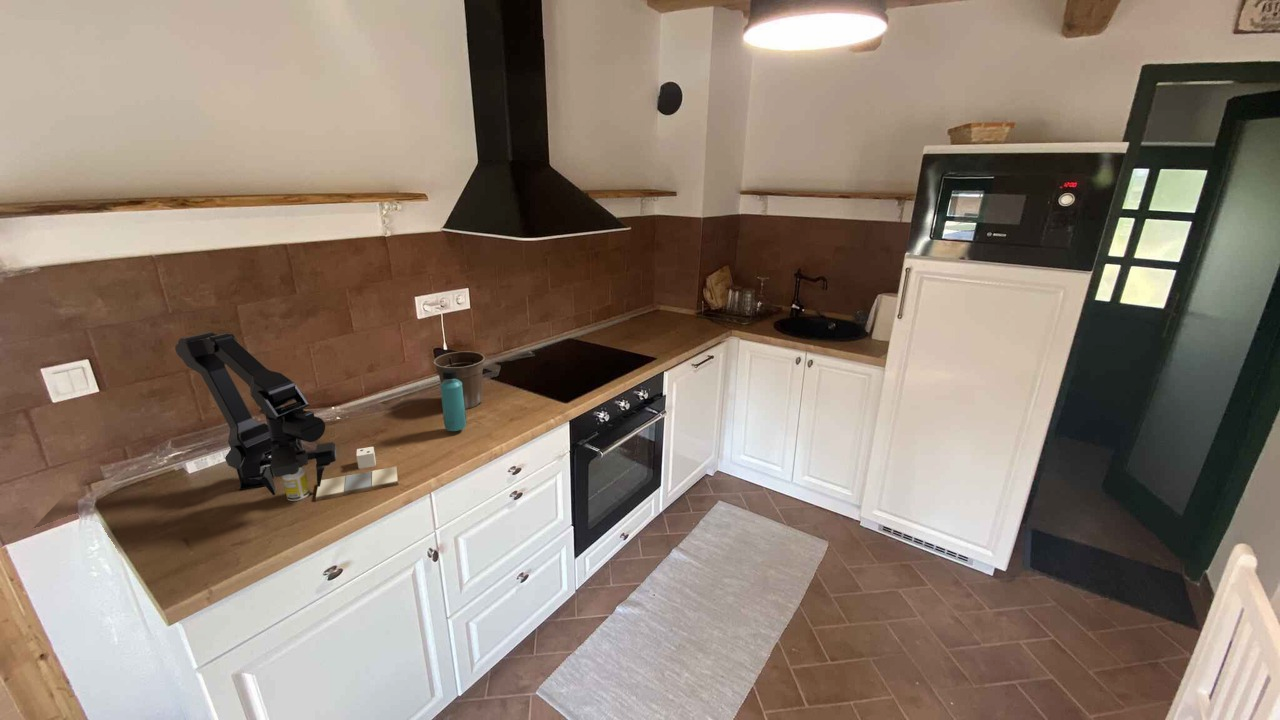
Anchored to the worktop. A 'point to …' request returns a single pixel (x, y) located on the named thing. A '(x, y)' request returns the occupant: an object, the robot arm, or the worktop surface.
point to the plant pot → (464, 373)
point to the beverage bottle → (452, 401)
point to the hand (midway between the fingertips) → (297, 490)
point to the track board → (357, 483)
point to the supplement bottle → (296, 485)
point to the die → (366, 457)
